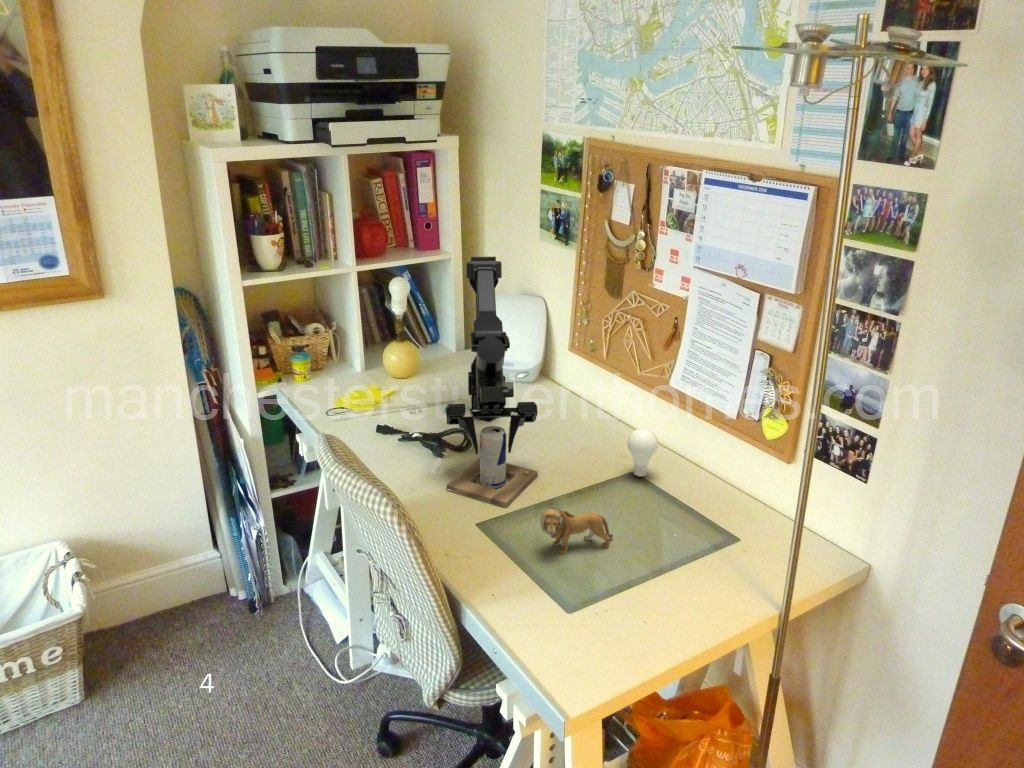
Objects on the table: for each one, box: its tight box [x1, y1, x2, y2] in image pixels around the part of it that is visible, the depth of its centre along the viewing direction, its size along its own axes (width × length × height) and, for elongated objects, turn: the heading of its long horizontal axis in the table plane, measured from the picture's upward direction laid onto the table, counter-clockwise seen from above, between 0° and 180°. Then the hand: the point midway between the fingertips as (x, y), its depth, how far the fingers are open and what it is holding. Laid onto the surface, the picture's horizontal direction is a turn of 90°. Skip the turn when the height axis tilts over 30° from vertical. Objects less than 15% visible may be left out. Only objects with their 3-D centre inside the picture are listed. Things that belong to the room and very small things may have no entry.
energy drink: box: [479, 425, 507, 489], centre depth 156 cm, size 5×5×12 cm
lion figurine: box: [539, 507, 614, 555], centre depth 137 cm, size 15×5×9 cm, turn 111°
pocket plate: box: [446, 456, 539, 509], centre depth 158 cm, size 14×14×2 cm
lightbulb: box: [626, 427, 659, 478], centre depth 160 cm, size 6×6×11 cm
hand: (493, 452), depth 154 cm, fingers open, 6 cm apart
